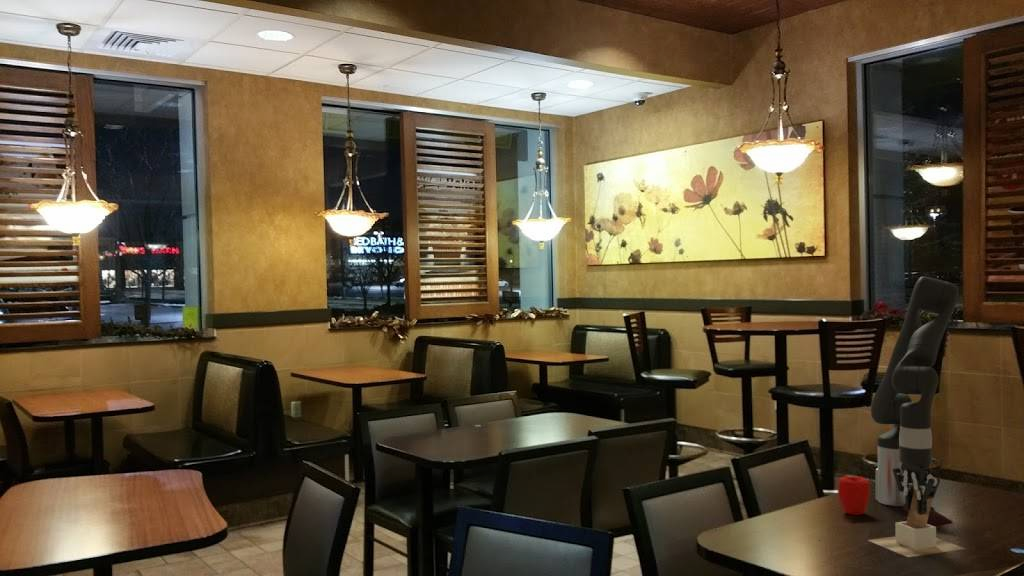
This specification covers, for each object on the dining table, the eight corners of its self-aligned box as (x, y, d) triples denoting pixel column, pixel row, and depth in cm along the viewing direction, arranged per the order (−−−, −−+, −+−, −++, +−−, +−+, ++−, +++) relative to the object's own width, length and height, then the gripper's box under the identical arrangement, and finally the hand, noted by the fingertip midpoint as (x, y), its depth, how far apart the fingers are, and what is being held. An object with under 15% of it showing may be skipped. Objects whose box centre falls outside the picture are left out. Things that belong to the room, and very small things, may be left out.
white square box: (895, 541, 217) (895, 522, 217) (916, 539, 219) (916, 520, 219) (915, 549, 211) (914, 529, 211) (936, 546, 213) (936, 527, 213)
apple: (855, 507, 252) (854, 471, 252) (877, 515, 244) (877, 478, 244) (831, 511, 249) (831, 474, 249) (852, 519, 241) (852, 481, 241)
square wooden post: (904, 531, 216) (915, 485, 216) (913, 534, 216) (924, 488, 217) (913, 535, 212) (924, 488, 213) (923, 537, 213) (934, 491, 214)
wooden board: (867, 543, 219) (867, 540, 219) (922, 536, 224) (922, 532, 224) (907, 561, 205) (907, 557, 205) (965, 552, 211) (965, 548, 211)
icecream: (962, 510, 226) (912, 502, 239) (944, 507, 223) (895, 499, 236) (960, 536, 225) (910, 527, 238) (942, 534, 221) (892, 524, 235)
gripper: (949, 448, 209) (949, 518, 209) (906, 438, 222) (907, 503, 223) (925, 451, 207) (925, 521, 207) (883, 440, 220) (883, 506, 220)
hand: (915, 511), depth 215 cm, fingers closed on square wooden post, 3 cm apart
